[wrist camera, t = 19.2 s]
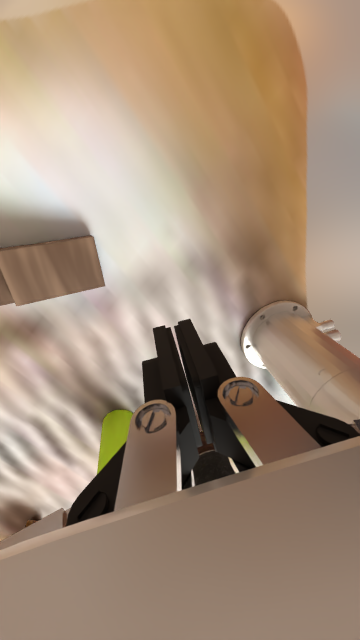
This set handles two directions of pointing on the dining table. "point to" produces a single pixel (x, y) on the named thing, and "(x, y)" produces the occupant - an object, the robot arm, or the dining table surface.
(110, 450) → the soap dispenser
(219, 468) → the black ball on stand
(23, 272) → the domino
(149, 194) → the dining table surface
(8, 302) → the domino
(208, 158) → the dining table surface
